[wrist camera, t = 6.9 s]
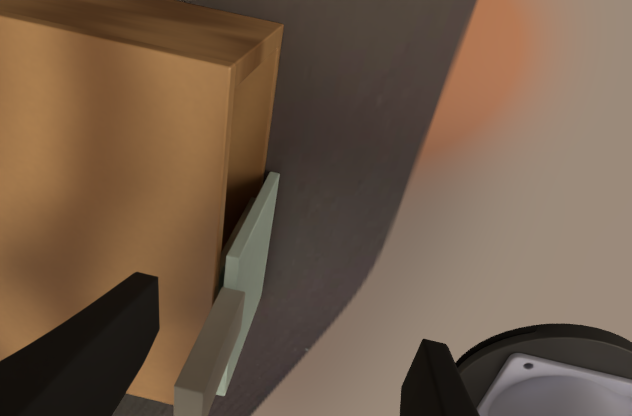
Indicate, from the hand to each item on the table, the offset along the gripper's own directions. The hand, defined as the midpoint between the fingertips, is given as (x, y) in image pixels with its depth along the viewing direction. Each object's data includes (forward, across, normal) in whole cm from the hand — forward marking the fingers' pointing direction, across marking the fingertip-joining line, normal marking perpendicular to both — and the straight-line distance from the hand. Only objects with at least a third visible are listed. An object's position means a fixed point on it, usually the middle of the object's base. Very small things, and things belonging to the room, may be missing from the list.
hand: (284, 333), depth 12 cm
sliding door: (+10, +2, +5) cm, 11 cm away
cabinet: (+10, +8, +2) cm, 13 cm away
